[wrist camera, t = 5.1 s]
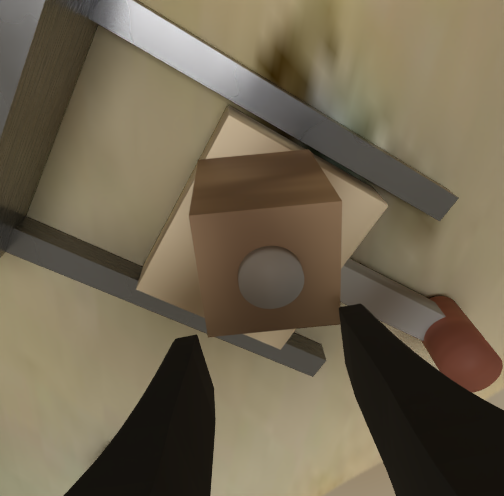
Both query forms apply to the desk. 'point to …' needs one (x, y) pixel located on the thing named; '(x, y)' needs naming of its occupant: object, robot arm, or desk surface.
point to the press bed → (352, 273)
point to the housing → (266, 243)
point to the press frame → (193, 65)
